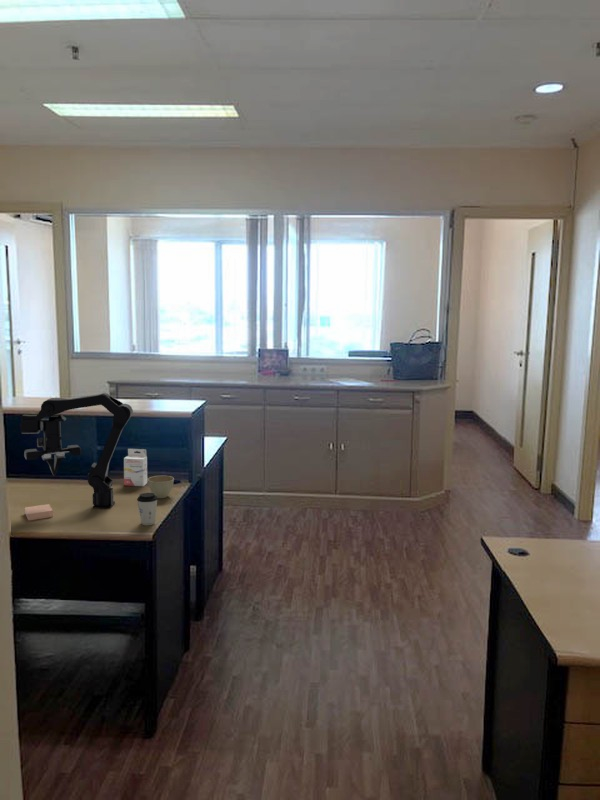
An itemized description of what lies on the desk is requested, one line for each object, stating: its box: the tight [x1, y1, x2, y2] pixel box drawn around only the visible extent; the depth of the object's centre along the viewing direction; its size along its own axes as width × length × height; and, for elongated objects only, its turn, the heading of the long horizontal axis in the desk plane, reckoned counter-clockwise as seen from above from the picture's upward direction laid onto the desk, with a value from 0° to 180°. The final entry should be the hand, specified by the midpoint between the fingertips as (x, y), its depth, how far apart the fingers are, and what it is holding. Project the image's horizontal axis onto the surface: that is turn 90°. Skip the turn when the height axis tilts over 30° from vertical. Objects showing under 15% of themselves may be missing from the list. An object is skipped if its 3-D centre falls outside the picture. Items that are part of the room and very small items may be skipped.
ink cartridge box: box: [123, 448, 148, 487], centre depth 253 cm, size 9×5×15 cm, turn 84°
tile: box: [24, 503, 54, 521], centre depth 214 cm, size 3×8×8 cm
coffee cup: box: [136, 492, 159, 526], centre depth 207 cm, size 7×7×10 cm
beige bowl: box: [147, 475, 175, 499], centre depth 237 cm, size 10×10×7 cm
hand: (54, 475), depth 222 cm, fingers closed
